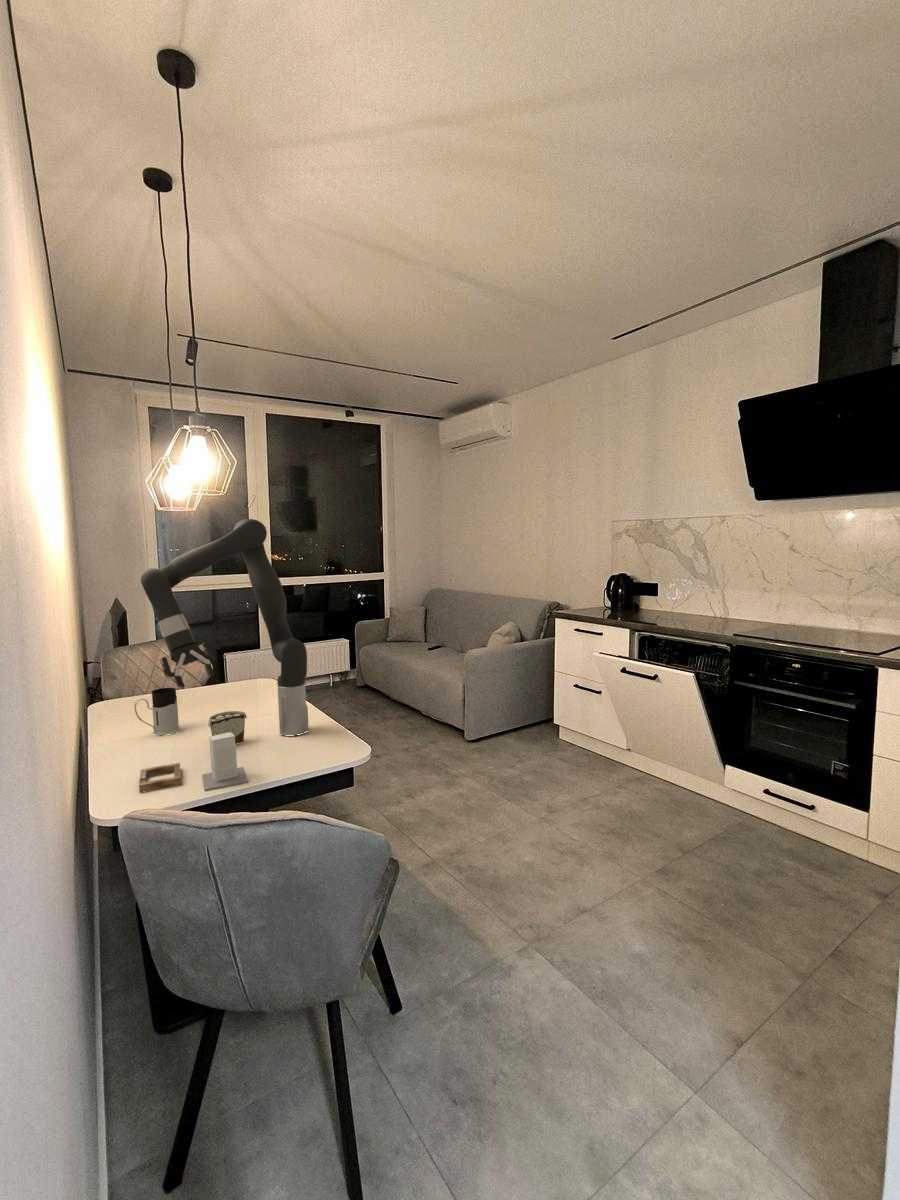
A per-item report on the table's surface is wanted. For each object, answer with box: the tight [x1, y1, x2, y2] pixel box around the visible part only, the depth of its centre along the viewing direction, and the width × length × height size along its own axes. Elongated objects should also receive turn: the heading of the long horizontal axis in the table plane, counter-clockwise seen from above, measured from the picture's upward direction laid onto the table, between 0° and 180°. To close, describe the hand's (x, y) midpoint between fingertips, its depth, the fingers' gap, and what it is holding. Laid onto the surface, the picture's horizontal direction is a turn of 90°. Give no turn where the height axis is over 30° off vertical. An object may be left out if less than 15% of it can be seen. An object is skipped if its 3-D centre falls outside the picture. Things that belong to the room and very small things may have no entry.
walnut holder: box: [138, 762, 182, 793], centre depth 154 cm, size 10×12×2 cm
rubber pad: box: [201, 766, 249, 792], centre depth 155 cm, size 11×11×1 cm
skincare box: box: [208, 732, 238, 782], centre depth 154 cm, size 6×4×12 cm
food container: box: [207, 710, 248, 745], centre depth 182 cm, size 12×6×10 cm, turn 134°
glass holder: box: [134, 687, 181, 736], centre depth 192 cm, size 9×14×15 cm, turn 141°
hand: (197, 682), depth 166 cm, fingers open, 8 cm apart
